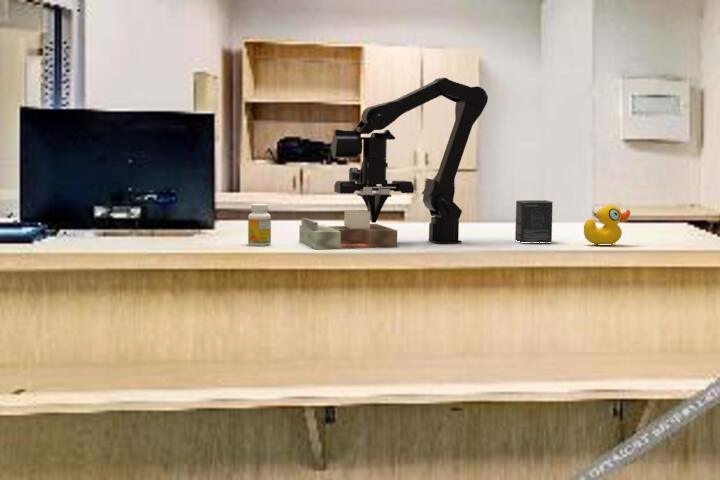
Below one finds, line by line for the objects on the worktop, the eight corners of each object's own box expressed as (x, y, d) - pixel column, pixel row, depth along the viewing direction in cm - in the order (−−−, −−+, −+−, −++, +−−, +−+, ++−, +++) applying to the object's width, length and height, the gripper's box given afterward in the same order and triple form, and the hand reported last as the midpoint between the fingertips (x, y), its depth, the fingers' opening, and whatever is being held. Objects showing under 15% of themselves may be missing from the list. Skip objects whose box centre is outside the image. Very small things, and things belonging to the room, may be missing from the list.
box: (544, 241, 239) (545, 199, 237) (551, 244, 233) (553, 201, 232) (514, 241, 237) (515, 199, 236) (521, 244, 232) (523, 201, 231)
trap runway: (376, 239, 238) (376, 215, 237) (397, 247, 223) (397, 222, 222) (299, 241, 232) (299, 217, 231) (315, 249, 217) (315, 223, 216)
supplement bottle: (244, 244, 225) (244, 203, 224) (265, 243, 228) (265, 203, 226) (253, 246, 220) (253, 205, 219) (274, 245, 223) (274, 204, 222)
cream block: (363, 226, 230) (364, 210, 230) (369, 228, 226) (370, 211, 225) (344, 226, 229) (344, 210, 229) (350, 228, 224) (350, 212, 224)
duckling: (624, 244, 234) (626, 204, 233) (632, 246, 229) (634, 206, 228) (580, 244, 233) (581, 204, 232) (587, 246, 228) (588, 205, 227)
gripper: (399, 157, 237) (398, 218, 239) (328, 157, 232) (328, 219, 233) (415, 159, 227) (413, 223, 228) (341, 158, 221) (340, 224, 223)
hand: (373, 222), depth 229 cm, fingers closed
